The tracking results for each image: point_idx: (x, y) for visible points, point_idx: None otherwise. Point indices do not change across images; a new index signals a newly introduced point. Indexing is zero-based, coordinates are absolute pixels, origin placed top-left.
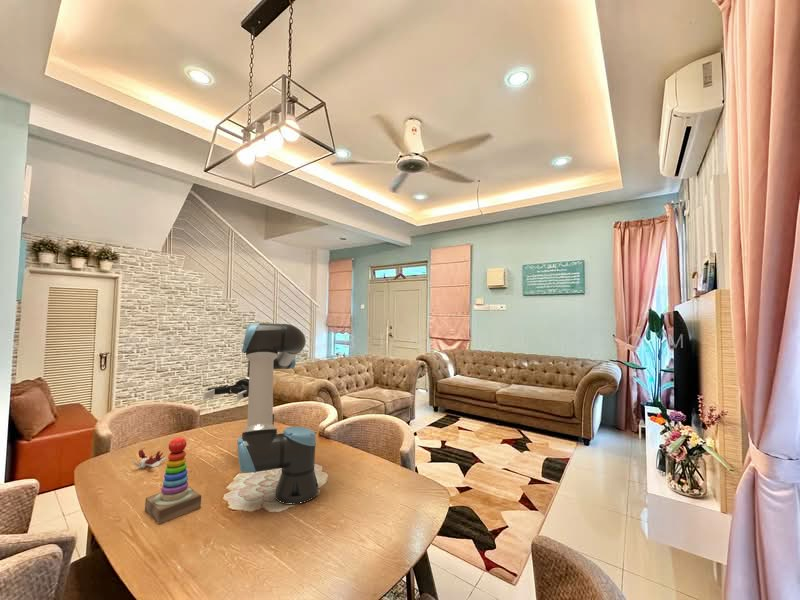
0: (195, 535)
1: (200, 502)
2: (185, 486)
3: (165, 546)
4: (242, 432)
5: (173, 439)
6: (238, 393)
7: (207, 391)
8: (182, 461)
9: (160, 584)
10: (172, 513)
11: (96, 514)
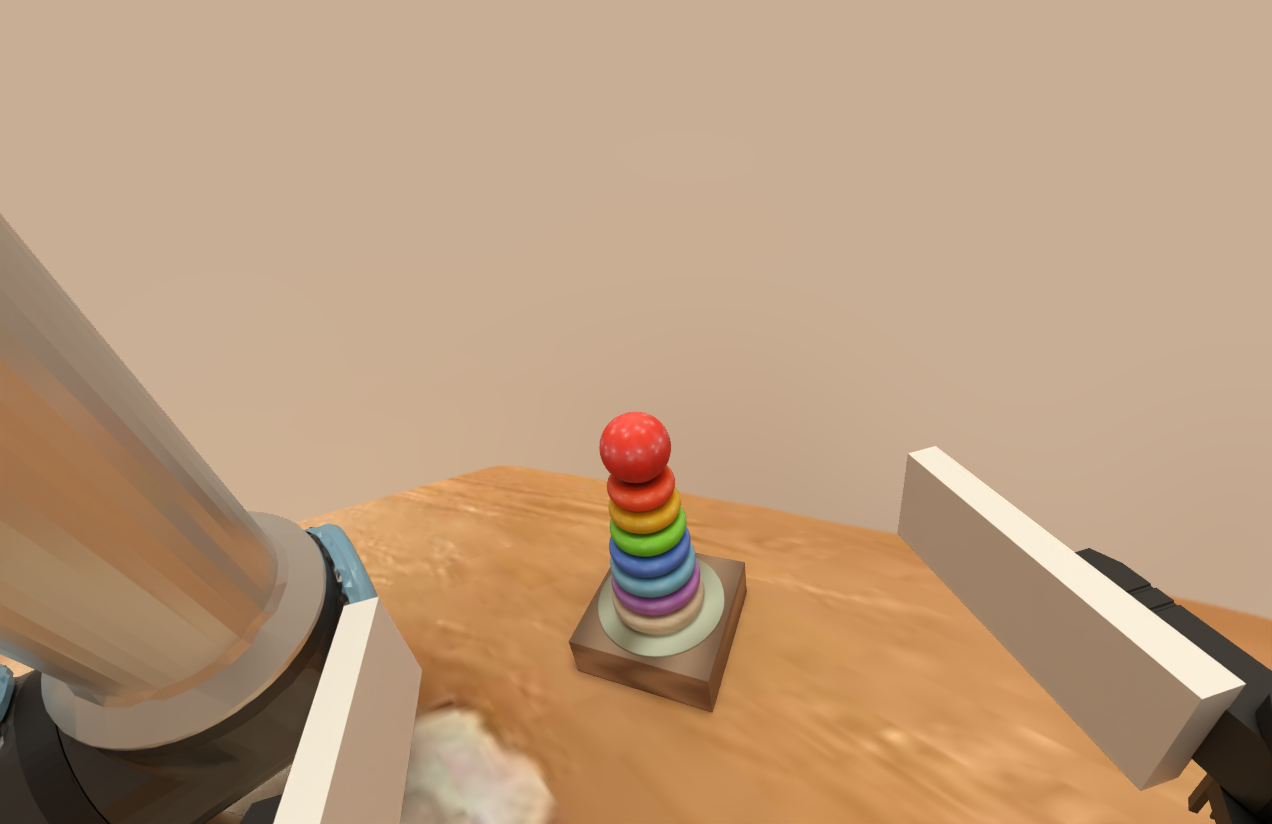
0: (498, 573)
1: (574, 656)
2: (611, 582)
3: (543, 529)
4: (313, 540)
5: (641, 412)
6: (364, 615)
7: (982, 496)
8: (609, 501)
9: (478, 481)
10: None
11: (854, 533)
